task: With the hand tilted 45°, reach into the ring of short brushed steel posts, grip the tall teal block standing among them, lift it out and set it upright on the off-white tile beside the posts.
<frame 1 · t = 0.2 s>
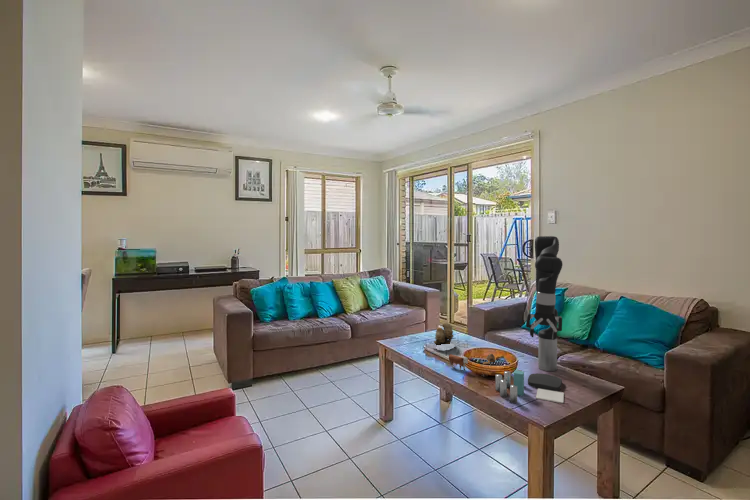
hand: (542, 338, 164), 28 cm above the table, tool pointing down, fingers open, 8 cm apart
bull figurine: (459, 369, 204), on the table
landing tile: (550, 396, 170), on the table
teal block: (518, 382, 173), in the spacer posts
lion figurine: (487, 373, 199), on the table
media streaming box: (544, 384, 183), on the table
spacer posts: (518, 393, 173), on the table
brown squirrel figurine: (444, 347, 243), on the table
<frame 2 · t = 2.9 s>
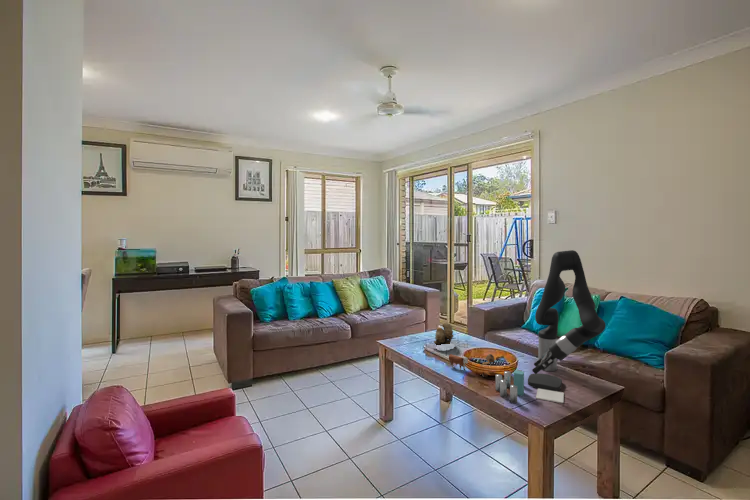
hand: (534, 368, 169), 13 cm above the table, tool tilted 45°, fingers open, 8 cm apart
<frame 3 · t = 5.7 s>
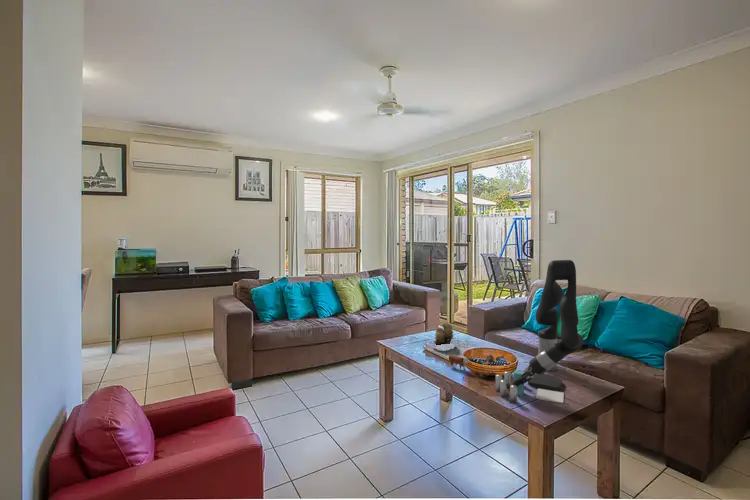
hand: (514, 384, 174), 4 cm above the table, tool tilted 45°, fingers closed on teal block, 4 cm apart
teal block: (518, 382, 173), in the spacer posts, touching gripper
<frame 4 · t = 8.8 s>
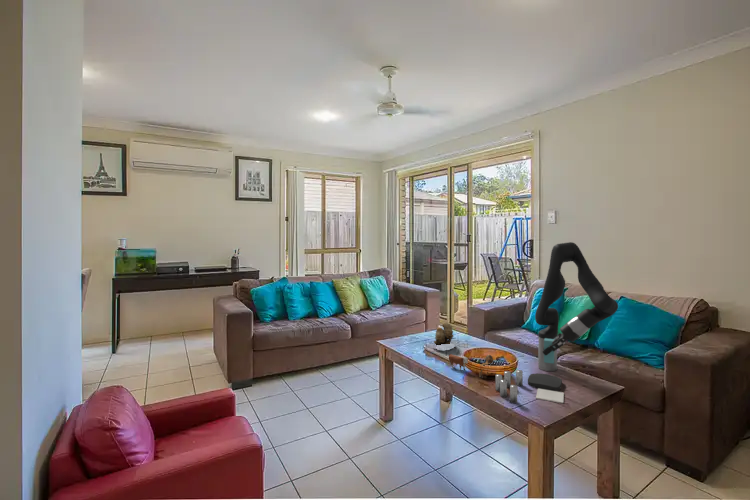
hand: (544, 352, 170), 20 cm above the table, tool tilted 45°, fingers closed on teal block, 4 cm apart
teal block: (549, 350, 169), point 21 cm above the table, touching gripper
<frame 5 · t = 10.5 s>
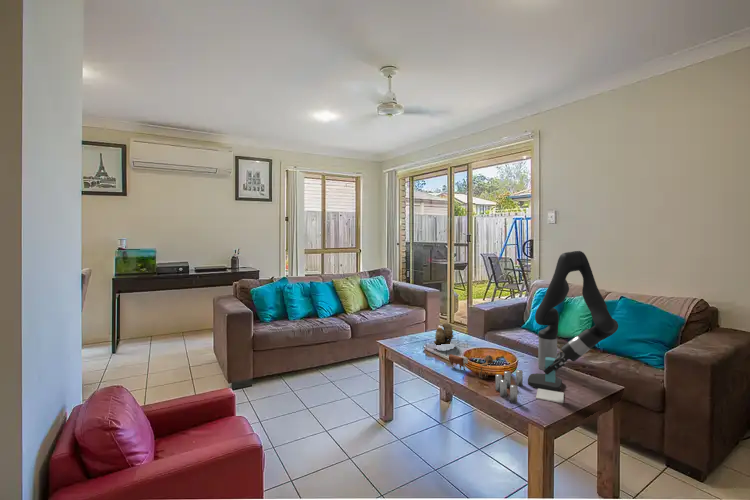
hand: (545, 371, 170), 11 cm above the table, tool tilted 45°, fingers closed on teal block, 4 cm apart
teal block: (550, 369, 169), point 12 cm above the table, touching gripper
when the fingers open (5 cm above the table, at t = 12.0 s): teal block stays where it is, resting on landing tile.
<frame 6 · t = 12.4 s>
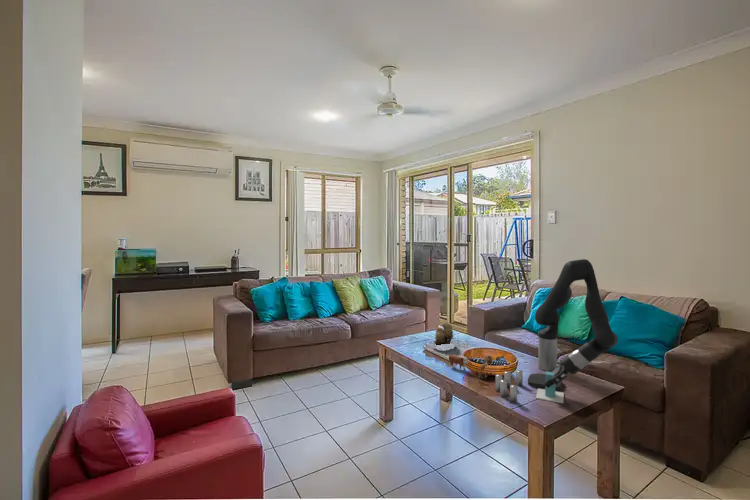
hand: (546, 382, 170), 6 cm above the table, tool tilted 45°, fingers open, 8 cm apart
teal block: (550, 384, 169), on the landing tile
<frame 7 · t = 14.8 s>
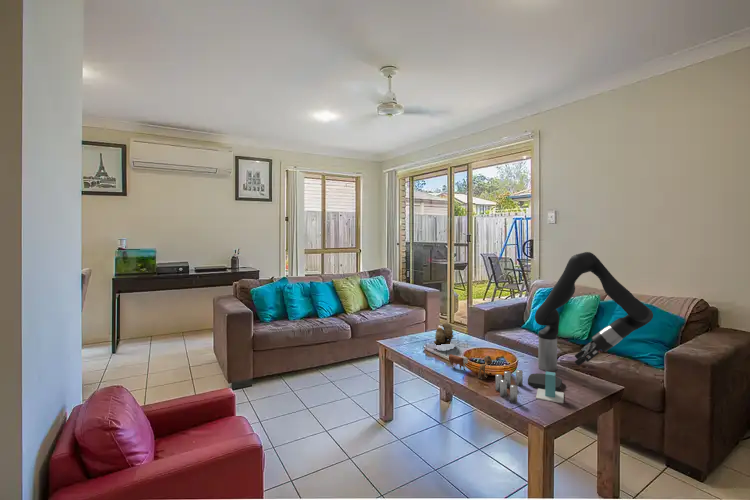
hand: (576, 360, 164), 18 cm above the table, tool tilted 45°, fingers open, 8 cm apart
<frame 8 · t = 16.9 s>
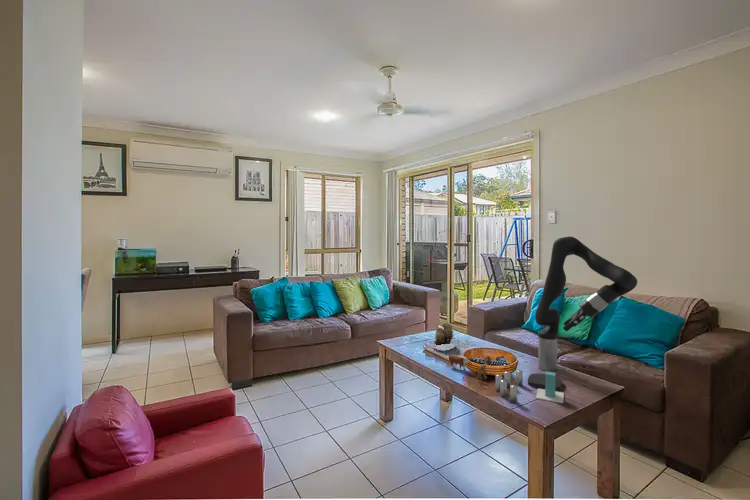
hand: (564, 327, 172), 31 cm above the table, tool tilted 45°, fingers open, 8 cm apart
at the end: teal block inside the target area on the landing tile (0.1 cm from its centre), point 5.5 cm above the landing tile's base; teal block tilted 0°; the gripper is holding nothing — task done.
